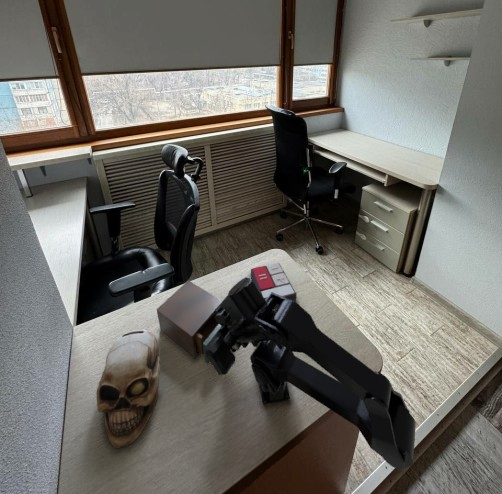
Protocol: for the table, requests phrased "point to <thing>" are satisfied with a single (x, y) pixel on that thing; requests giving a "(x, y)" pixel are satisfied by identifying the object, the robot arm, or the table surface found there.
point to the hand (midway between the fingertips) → (221, 332)
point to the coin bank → (129, 385)
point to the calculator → (272, 281)
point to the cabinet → (186, 315)
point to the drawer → (207, 336)
